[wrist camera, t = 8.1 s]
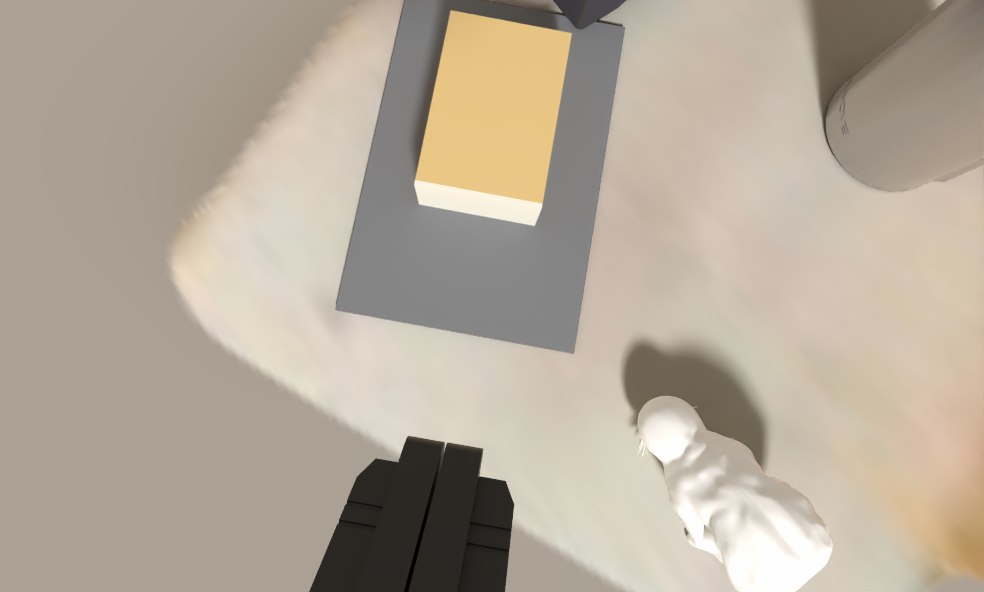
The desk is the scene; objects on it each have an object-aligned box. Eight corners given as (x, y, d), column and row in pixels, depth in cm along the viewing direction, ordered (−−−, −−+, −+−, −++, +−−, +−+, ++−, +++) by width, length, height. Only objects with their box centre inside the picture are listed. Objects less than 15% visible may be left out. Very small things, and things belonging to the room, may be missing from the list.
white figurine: (781, 631, 30) (626, 431, 32) (720, 589, 38) (600, 432, 40) (874, 550, 30) (716, 360, 33) (794, 526, 39) (673, 376, 41)
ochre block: (534, 225, 41) (562, 66, 43) (541, 208, 37) (571, 33, 39) (419, 204, 41) (452, 45, 43) (414, 184, 37) (450, 10, 39)
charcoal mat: (623, 30, 44) (624, 27, 44) (572, 353, 40) (573, 353, 40) (408, -11, 44) (408, -15, 43) (336, 310, 40) (335, 309, 40)
